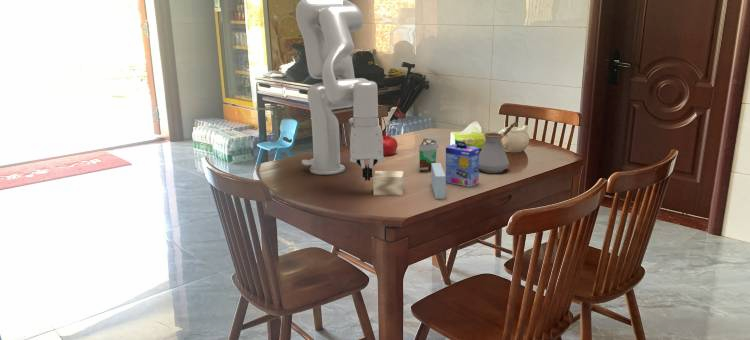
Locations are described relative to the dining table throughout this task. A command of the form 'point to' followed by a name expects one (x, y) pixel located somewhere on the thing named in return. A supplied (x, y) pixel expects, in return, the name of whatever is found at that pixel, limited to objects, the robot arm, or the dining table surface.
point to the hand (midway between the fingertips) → (367, 179)
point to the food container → (427, 154)
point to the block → (388, 182)
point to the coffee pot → (494, 153)
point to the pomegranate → (389, 145)
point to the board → (438, 180)
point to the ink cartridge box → (462, 164)
